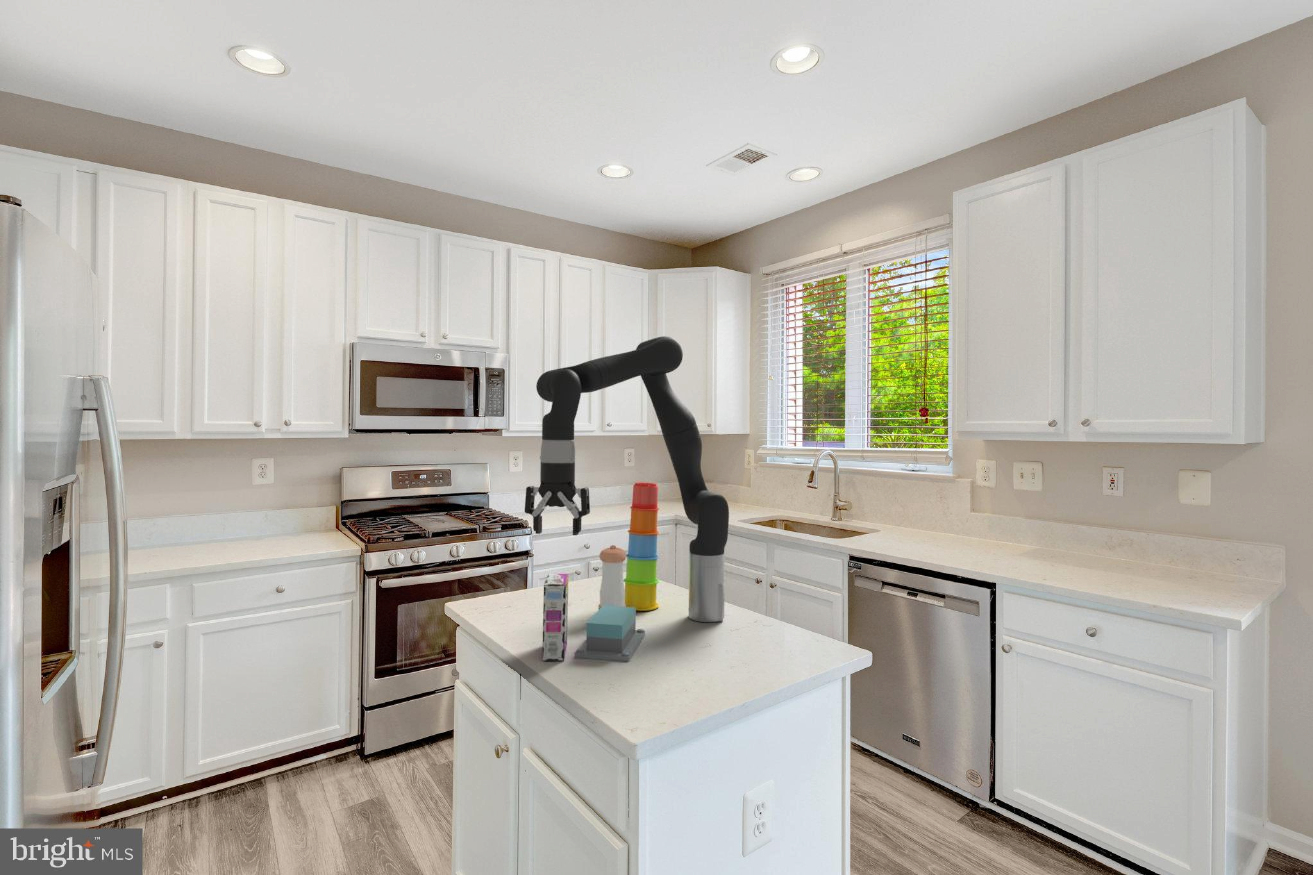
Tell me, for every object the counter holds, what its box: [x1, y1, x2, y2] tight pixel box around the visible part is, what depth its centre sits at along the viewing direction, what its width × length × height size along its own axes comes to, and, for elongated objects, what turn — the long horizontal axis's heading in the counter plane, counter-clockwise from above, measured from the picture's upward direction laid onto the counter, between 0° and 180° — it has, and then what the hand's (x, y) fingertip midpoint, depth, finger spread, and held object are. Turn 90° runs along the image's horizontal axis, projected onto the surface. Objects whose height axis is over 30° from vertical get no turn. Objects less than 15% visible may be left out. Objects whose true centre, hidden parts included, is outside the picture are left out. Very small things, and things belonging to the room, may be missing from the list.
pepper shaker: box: [597, 544, 627, 612], centre depth 164 cm, size 7×7×19 cm
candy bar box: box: [541, 573, 569, 662], centre depth 138 cm, size 11×5×16 cm, turn 5°
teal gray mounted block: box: [574, 606, 646, 662], centre depth 143 cm, size 12×18×7 cm, turn 170°
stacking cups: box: [623, 482, 660, 612], centre depth 175 cm, size 10×10×35 cm
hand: (557, 534), depth 138 cm, fingers open, 8 cm apart
